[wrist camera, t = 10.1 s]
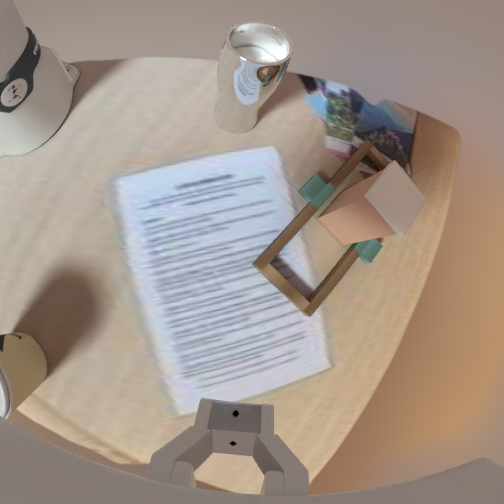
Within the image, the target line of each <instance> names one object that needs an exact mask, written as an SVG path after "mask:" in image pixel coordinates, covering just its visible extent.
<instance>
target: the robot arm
mask: <svg viewBox="0 0 504 504" xmlns="http://www.w3.org/2000/svg"><path fill="white" fill-rule="evenodd" d="M79 74H80V72H79V70H78V69H77V68H76V67H74V66H72V65H70V64H68V63H66V62H63V61H61V60H60V58H59V57H58V55H57V53H56V52H55V50H54V49H49V48H47V47H44V46H40V45H39V43H38V40H37V38H36V36H35V34H33V33H32V31H31V29H29V28H28V27H25V25H24V23H23V21H22V19H21V17H20V15H19V13H18V11H17V8H16V6H15V4H14V2H13V0H0V157H2V156H4V155H21V154H25V153H28V152H30V151H32V150H34V149H36V148H38V147H39V146H41V145H42V144H43V143H45V142H46V141H47V140H48V139H49V138H50V137H51V136H52V135H53V134H54V133H55V132H56V131H57V129H58V128H59V127H60V125H61V124H62V122H63V121H64V119H65V117H66V116H67V114H68V111H69V109H70V106H71V102H72V95H73V87H74V85H75V83H76V81H77V79H78V77H79ZM212 452H214V453H225V454H235V455H245V456H253V458H254V460H255V462H256V463H257V465H258V466H259V468H260V469H261V471H262V473H263V474H264V476H265V478H264V481H263V485H262V489H261V493H260V495H255V494H240V493H229V492H219V491H212V490H204V489H198V488H197V487H196V482H195V477H194V471H195V470H196V469H197V468H198V467H199V466H200V465H201V464H202V463H203V462H204V461H205V460H206V459H207V458H208V457H209V456H210V455H211V454H212ZM0 504H504V468H503V467H501V466H500V465H498V464H496V463H495V462H493V461H491V460H489V459H487V458H479V459H477V460H474V461H471V462H469V463H466V464H463V465H460V466H458V467H455V468H452V469H449V470H446V471H443V472H440V473H437V474H433V475H429V476H426V477H422V478H418V479H415V480H410V481H406V482H402V483H397V484H392V485H388V486H382V487H376V488H371V489H364V490H357V491H349V492H341V493H329V494H315V495H310V489H309V477H308V470H307V469H306V467H305V466H304V465H303V464H302V463H301V462H300V461H299V459H298V458H297V457H296V456H295V455H294V454H293V453H292V451H291V450H290V449H289V448H288V447H287V446H286V444H285V443H284V442H283V441H282V440H281V438H280V437H279V436H278V435H275V434H274V406H273V405H268V404H253V403H239V402H237V403H236V402H227V401H220V400H212V399H205V398H202V399H201V400H200V404H199V408H198V412H197V416H196V420H195V424H194V427H193V426H190V427H189V428H187V429H186V430H185V431H184V432H182V433H181V434H180V435H178V436H177V437H176V438H174V439H173V440H172V441H170V442H169V443H167V444H166V445H165V446H163V447H162V448H161V449H159V450H158V451H156V452H155V453H154V454H153V455H152V458H151V461H150V464H149V466H148V470H147V472H146V475H145V477H141V476H137V475H134V474H130V473H127V472H123V471H120V470H117V469H114V468H111V467H108V466H105V465H102V464H99V463H97V462H94V461H91V460H88V459H86V458H83V457H81V456H78V455H76V454H73V453H71V452H69V451H66V450H64V449H62V448H60V447H57V446H55V445H53V444H51V443H49V442H47V441H45V440H43V439H41V438H38V437H37V436H35V435H33V434H31V433H29V432H27V431H25V430H24V429H22V428H20V427H18V426H16V425H15V424H13V423H11V422H10V421H8V420H6V419H5V418H3V417H2V416H0Z"/></svg>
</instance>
